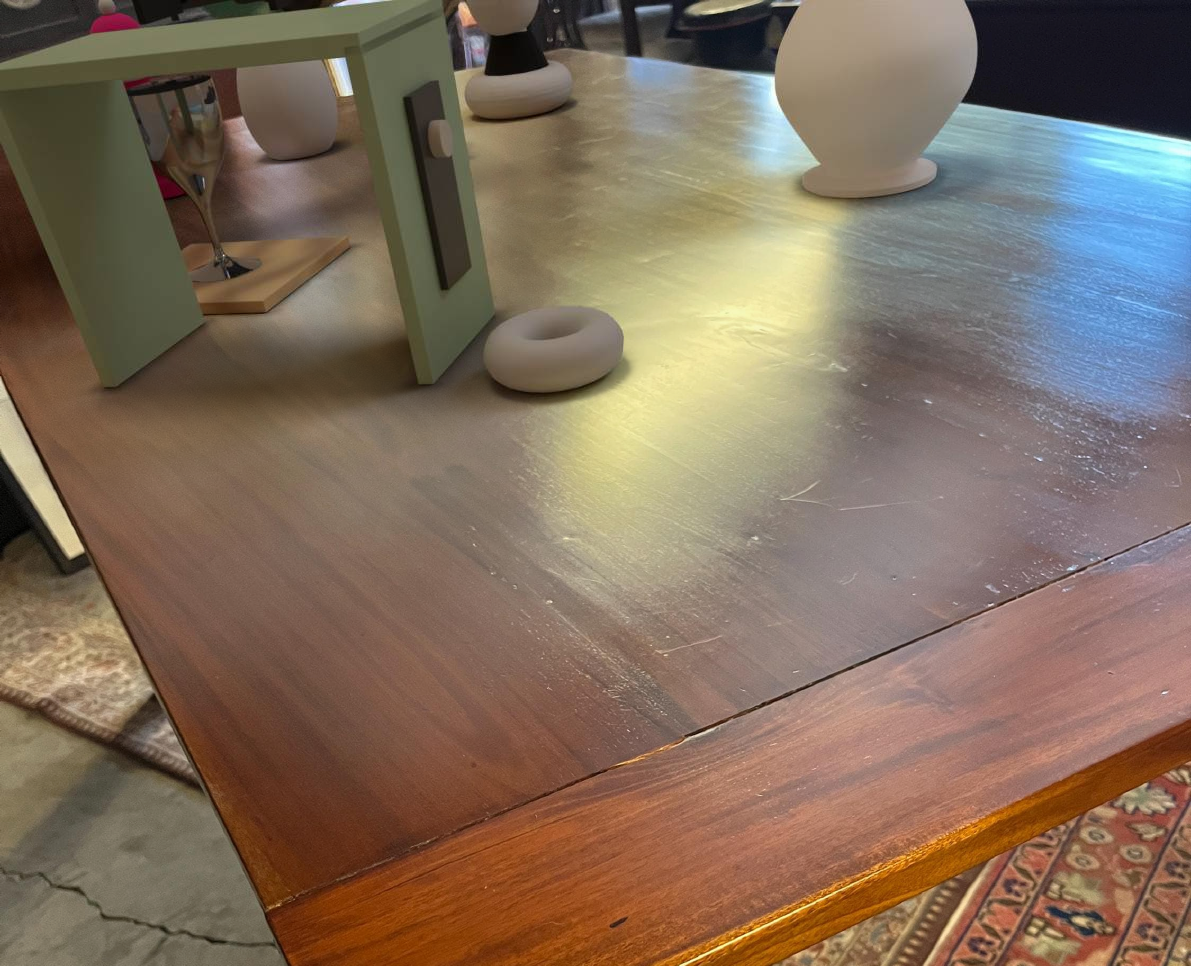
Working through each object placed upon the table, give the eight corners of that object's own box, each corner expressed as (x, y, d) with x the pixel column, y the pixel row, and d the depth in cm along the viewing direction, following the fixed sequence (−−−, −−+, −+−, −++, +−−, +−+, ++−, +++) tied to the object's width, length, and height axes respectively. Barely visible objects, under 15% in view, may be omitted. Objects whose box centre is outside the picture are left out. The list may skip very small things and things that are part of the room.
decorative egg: (359, 137, 149) (329, 2, 139) (327, 160, 140) (293, 18, 130) (276, 144, 151) (241, 13, 141) (240, 168, 143) (200, 29, 133)
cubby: (103, 387, 87) (-30, 72, 72) (193, 322, 96) (92, 33, 82) (452, 384, 79) (380, 29, 64) (512, 313, 88) (461, -8, 74)
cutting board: (94, 317, 101) (89, 306, 100) (194, 254, 113) (191, 243, 113) (266, 312, 96) (262, 300, 95) (350, 246, 109) (348, 236, 108)
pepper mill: (175, 200, 133) (107, -1, 120) (128, 201, 135) (57, 5, 122) (210, 183, 138) (149, -12, 124) (164, 185, 140) (99, -6, 127)
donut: (469, 371, 81) (517, 413, 73) (460, 323, 78) (508, 361, 71) (592, 336, 83) (650, 374, 76) (587, 289, 81) (646, 322, 73)
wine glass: (268, 250, 107) (215, 70, 97) (263, 274, 101) (207, 85, 91) (187, 264, 107) (126, 85, 97) (177, 289, 101) (111, 100, 91)
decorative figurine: (586, 93, 153) (567, -89, 140) (560, 118, 143) (537, -76, 130) (486, 102, 157) (458, -75, 144) (453, 126, 147) (421, -61, 133)
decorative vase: (812, 218, 98) (818, -148, 81) (751, 174, 111) (746, -147, 95) (999, 183, 99) (1043, -183, 83) (917, 144, 113) (941, -178, 96)
